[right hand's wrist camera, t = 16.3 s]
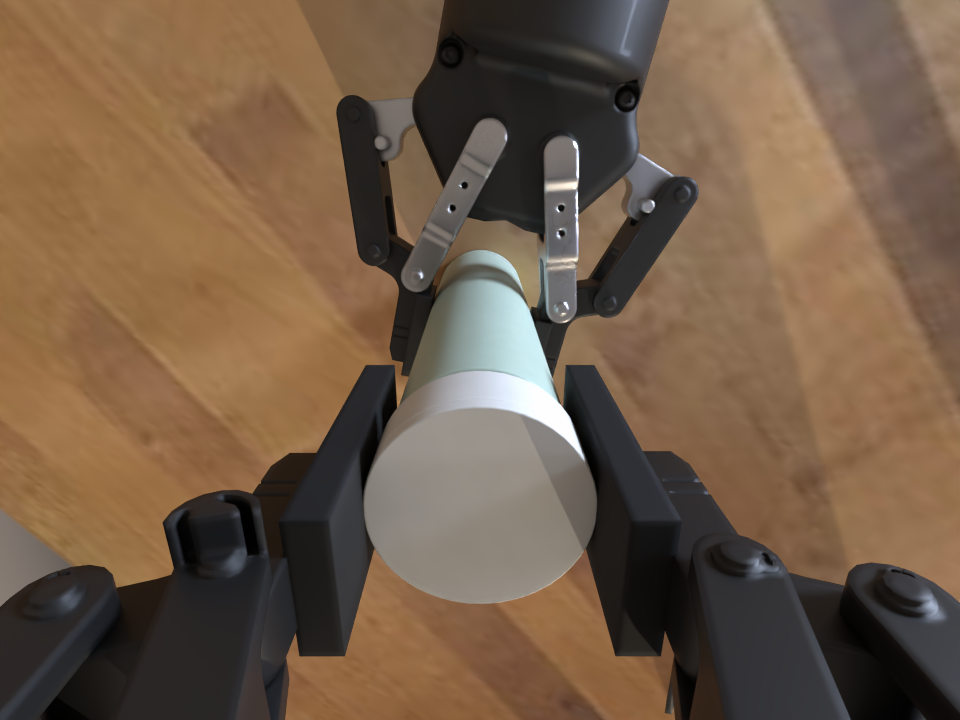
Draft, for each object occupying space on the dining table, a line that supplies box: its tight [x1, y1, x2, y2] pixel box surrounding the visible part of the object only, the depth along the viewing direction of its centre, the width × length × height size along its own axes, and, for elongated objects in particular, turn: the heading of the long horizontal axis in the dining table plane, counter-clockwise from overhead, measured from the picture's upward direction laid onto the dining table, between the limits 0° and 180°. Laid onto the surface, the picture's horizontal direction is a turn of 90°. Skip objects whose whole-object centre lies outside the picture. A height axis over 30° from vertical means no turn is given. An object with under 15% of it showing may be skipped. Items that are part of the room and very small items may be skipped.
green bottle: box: [399, 250, 561, 406], centre depth 20 cm, size 4×4×18 cm
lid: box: [363, 371, 597, 604], centre depth 11 cm, size 5×4×2 cm
